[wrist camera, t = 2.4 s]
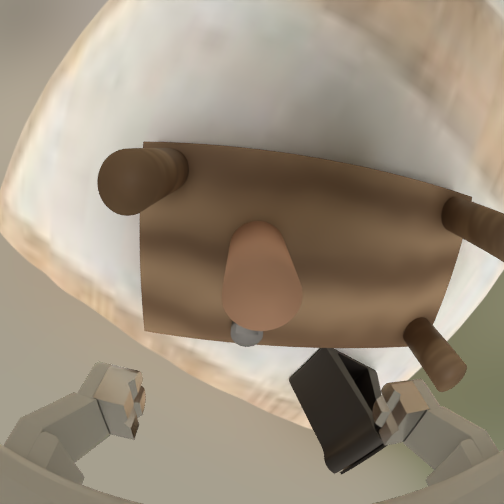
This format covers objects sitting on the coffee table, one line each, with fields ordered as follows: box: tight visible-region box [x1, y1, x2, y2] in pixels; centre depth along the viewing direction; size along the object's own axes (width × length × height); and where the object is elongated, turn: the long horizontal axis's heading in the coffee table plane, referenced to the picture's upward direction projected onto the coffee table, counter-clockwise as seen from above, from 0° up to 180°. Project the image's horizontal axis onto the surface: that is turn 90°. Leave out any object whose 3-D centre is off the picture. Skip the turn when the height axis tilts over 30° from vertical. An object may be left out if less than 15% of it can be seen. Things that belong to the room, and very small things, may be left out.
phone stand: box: [289, 348, 387, 474], centre depth 25 cm, size 9×6×12 cm, turn 55°
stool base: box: [98, 142, 504, 392], centre depth 20 cm, size 16×28×10 cm, turn 83°
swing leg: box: [222, 221, 303, 347], centre depth 19 cm, size 10×4×8 cm, turn 173°
